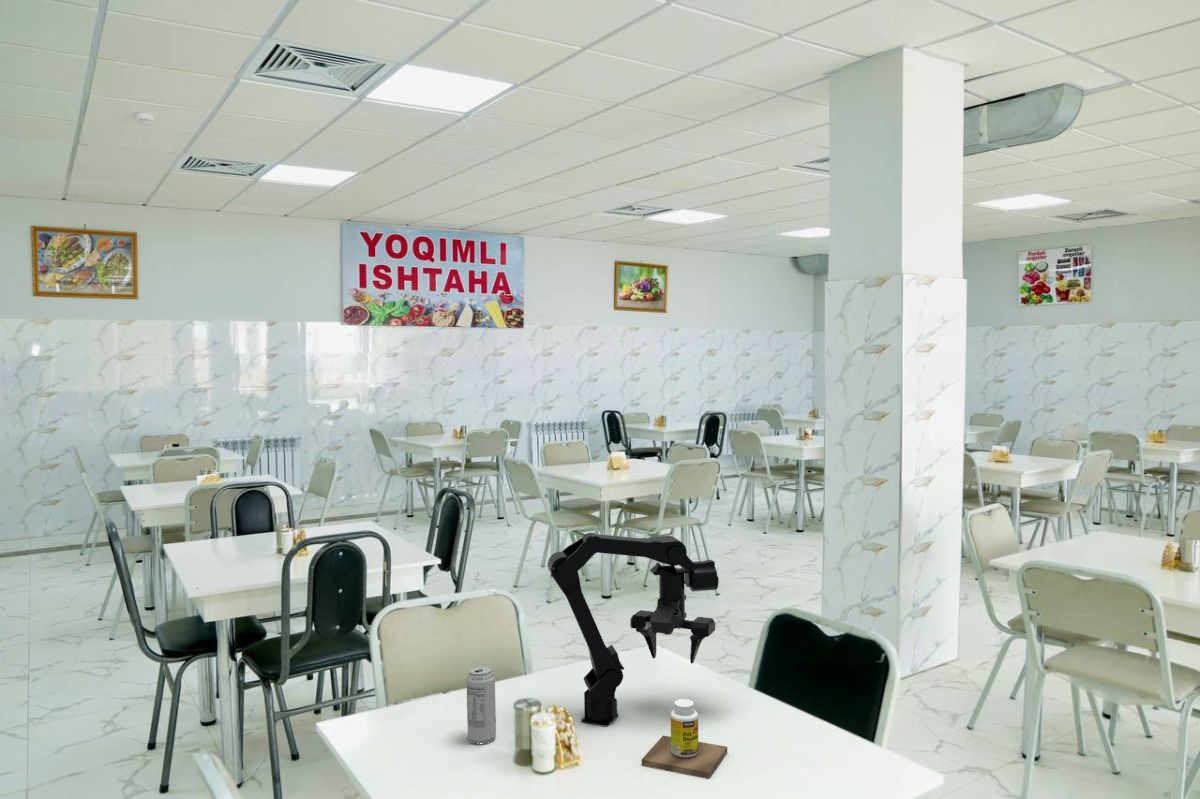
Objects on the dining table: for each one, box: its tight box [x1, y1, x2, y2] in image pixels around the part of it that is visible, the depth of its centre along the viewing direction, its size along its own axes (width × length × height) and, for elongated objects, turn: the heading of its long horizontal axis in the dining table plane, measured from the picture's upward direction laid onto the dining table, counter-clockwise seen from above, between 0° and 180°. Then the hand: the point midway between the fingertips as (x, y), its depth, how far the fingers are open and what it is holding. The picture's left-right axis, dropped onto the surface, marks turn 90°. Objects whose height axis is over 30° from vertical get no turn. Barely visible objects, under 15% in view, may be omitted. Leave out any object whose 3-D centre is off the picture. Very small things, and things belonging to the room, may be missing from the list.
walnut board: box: [641, 734, 728, 779], centre depth 170 cm, size 14×12×1 cm
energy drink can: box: [465, 665, 497, 745], centre depth 181 cm, size 6×6×15 cm
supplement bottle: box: [670, 698, 699, 758], centre depth 170 cm, size 6×6×10 cm
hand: (672, 660), depth 193 cm, fingers open, 9 cm apart
